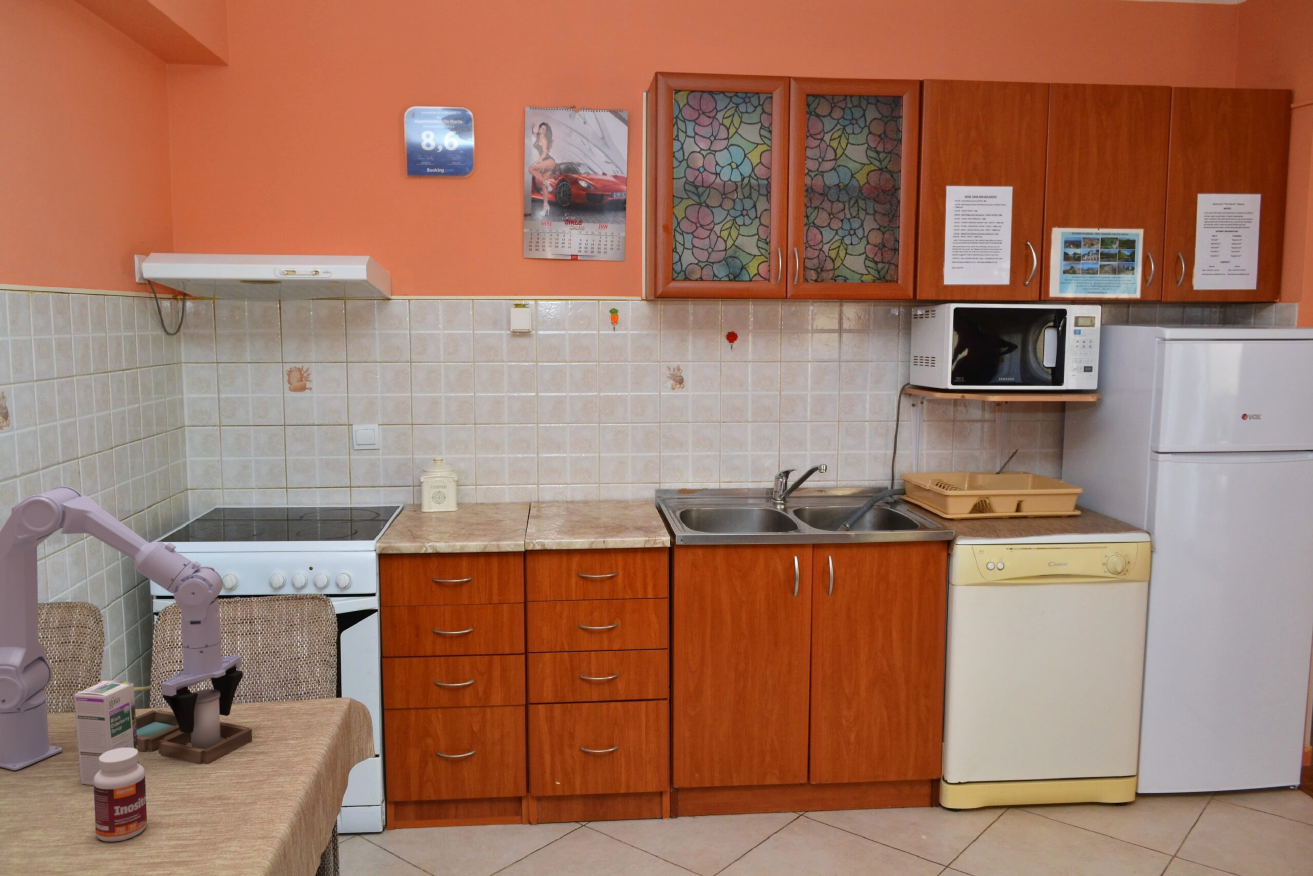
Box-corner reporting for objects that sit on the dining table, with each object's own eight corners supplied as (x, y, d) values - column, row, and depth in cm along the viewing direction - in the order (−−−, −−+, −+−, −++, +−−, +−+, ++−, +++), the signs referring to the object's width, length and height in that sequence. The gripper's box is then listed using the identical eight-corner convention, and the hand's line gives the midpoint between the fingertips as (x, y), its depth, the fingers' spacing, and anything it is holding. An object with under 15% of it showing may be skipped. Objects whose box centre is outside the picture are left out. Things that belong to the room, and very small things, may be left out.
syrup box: (112, 788, 143) (107, 695, 142) (78, 784, 144) (73, 692, 143) (140, 771, 149) (135, 681, 147) (107, 768, 150) (102, 678, 148)
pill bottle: (118, 847, 127) (114, 768, 126) (85, 838, 129) (80, 760, 128) (158, 825, 132) (154, 749, 131) (125, 817, 135) (121, 742, 134)
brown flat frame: (102, 742, 159) (102, 731, 159) (155, 720, 169) (155, 709, 169) (205, 765, 151) (204, 753, 151) (254, 739, 161) (254, 728, 161)
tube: (183, 750, 156) (181, 697, 156) (206, 739, 161) (204, 687, 160) (205, 755, 155) (203, 701, 154) (228, 743, 159) (226, 691, 158)
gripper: (183, 659, 148) (188, 744, 149) (254, 633, 161) (257, 710, 163) (150, 654, 150) (154, 737, 152) (222, 628, 164) (225, 704, 165)
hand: (205, 723), depth 157 cm, fingers open, 7 cm apart
